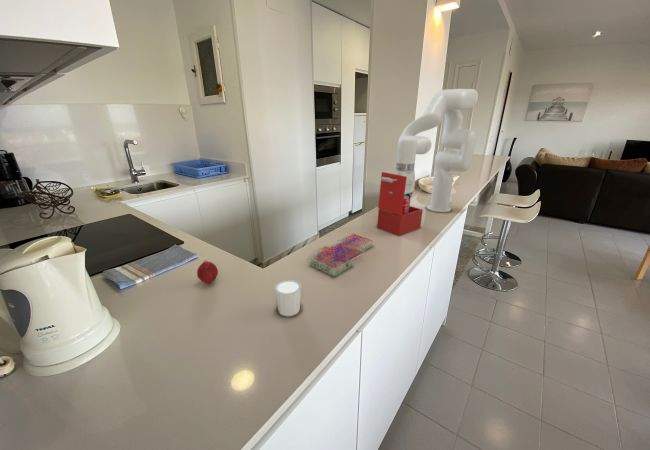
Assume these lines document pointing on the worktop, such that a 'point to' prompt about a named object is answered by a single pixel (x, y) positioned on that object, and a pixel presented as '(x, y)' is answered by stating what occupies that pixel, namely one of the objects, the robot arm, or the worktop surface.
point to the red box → (400, 221)
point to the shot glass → (288, 297)
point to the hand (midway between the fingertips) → (400, 206)
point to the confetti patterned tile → (340, 252)
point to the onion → (207, 271)
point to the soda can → (406, 205)
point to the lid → (395, 199)
